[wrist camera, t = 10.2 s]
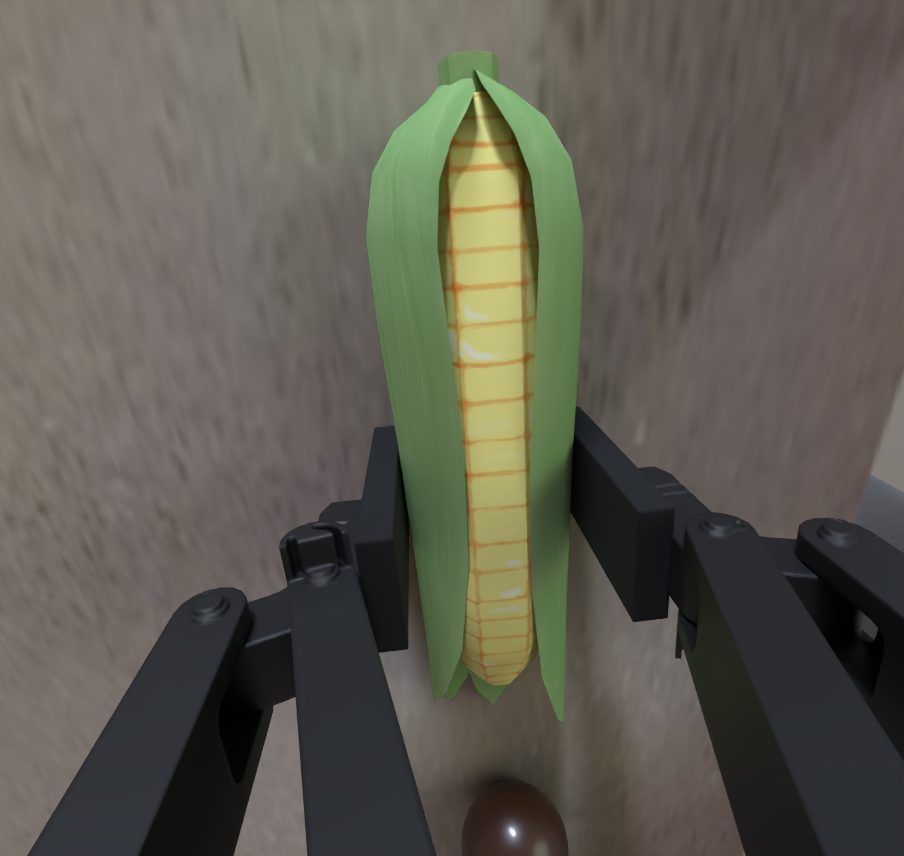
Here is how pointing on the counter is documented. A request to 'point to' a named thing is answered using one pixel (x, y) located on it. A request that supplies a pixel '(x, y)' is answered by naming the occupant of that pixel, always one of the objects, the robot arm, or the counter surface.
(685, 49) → the counter surface
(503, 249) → the edible corn
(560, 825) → the dark brown capsule
